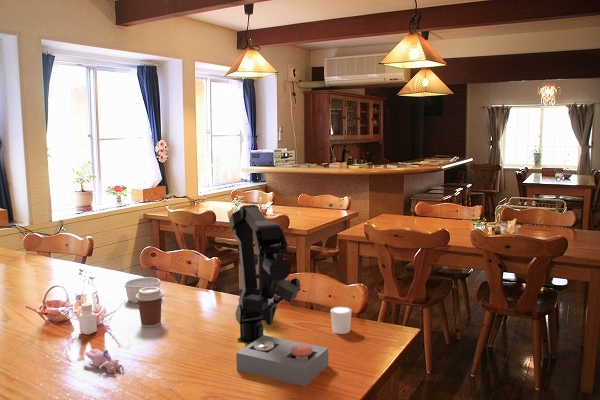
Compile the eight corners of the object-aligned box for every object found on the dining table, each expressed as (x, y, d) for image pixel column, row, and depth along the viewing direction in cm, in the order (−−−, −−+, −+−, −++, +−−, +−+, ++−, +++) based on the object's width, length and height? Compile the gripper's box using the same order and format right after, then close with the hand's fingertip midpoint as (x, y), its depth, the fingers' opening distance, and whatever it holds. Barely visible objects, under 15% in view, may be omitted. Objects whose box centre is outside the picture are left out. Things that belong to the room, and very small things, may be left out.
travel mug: (252, 315, 192) (251, 260, 189) (235, 312, 196) (233, 257, 193) (265, 309, 198) (264, 255, 196) (248, 305, 202) (247, 253, 200)
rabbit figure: (128, 374, 151) (96, 353, 160) (129, 354, 150) (97, 334, 158) (109, 383, 146) (77, 360, 155) (110, 363, 145) (77, 341, 153)
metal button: (250, 365, 152) (250, 346, 152) (261, 357, 157) (260, 339, 156) (267, 369, 150) (267, 350, 149) (278, 361, 154) (277, 343, 154)
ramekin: (146, 291, 222) (145, 275, 221) (168, 297, 214) (167, 280, 213) (118, 300, 211) (117, 283, 210) (140, 306, 203) (139, 288, 202)
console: (236, 370, 149) (236, 352, 149) (264, 351, 162) (263, 335, 161) (304, 386, 139) (304, 368, 139) (328, 365, 152) (328, 348, 151)
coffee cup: (144, 331, 179) (142, 295, 177) (132, 323, 186) (130, 289, 184) (169, 324, 185) (168, 289, 183) (157, 317, 192) (155, 284, 190)
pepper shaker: (79, 333, 178) (77, 305, 177) (89, 329, 181) (87, 301, 180) (87, 335, 176) (85, 307, 175) (97, 331, 179) (95, 303, 178)
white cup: (350, 335, 173) (350, 314, 172) (328, 333, 174) (328, 312, 173) (352, 327, 180) (352, 306, 179) (332, 326, 181) (331, 305, 180)
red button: (287, 370, 146) (287, 350, 146) (297, 362, 151) (297, 343, 151) (306, 374, 144) (306, 354, 143) (316, 366, 149) (315, 346, 148)
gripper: (277, 283, 137) (278, 342, 139) (310, 264, 153) (310, 318, 156) (240, 277, 142) (241, 334, 144) (275, 260, 158) (276, 311, 161)
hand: (269, 324), depth 151 cm, fingers closed
